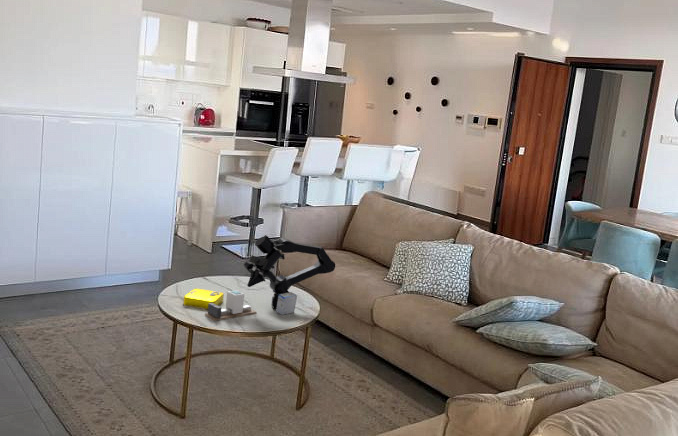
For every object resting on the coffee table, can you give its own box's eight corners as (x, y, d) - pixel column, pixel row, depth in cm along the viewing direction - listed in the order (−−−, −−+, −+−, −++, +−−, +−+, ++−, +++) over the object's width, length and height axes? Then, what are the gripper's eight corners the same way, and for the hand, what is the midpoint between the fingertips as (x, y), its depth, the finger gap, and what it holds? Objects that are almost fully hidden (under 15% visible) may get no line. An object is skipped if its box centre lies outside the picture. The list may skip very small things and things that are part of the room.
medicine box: (288, 309, 321) (290, 291, 319) (294, 312, 318) (297, 295, 316) (275, 311, 315) (278, 294, 313) (282, 315, 312) (285, 297, 310)
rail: (244, 307, 315) (245, 297, 314) (253, 311, 310) (254, 302, 309) (207, 313, 301) (208, 303, 300) (216, 318, 296) (217, 308, 295)
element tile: (193, 296, 325) (194, 286, 324) (224, 301, 323) (225, 291, 322) (181, 305, 310) (182, 295, 309) (213, 311, 308) (214, 300, 308)
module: (234, 308, 310) (236, 289, 308) (242, 312, 306) (244, 293, 304) (225, 310, 307) (227, 290, 305) (233, 314, 302) (235, 294, 301)
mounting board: (245, 308, 316) (245, 306, 316) (256, 313, 310) (256, 311, 310) (204, 315, 301) (205, 313, 300) (215, 320, 295) (215, 319, 295)
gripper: (248, 244, 316) (226, 270, 310) (273, 254, 303) (251, 281, 297) (260, 259, 323) (239, 284, 317) (285, 269, 310) (264, 296, 304)
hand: (248, 286), depth 309 cm, fingers closed
